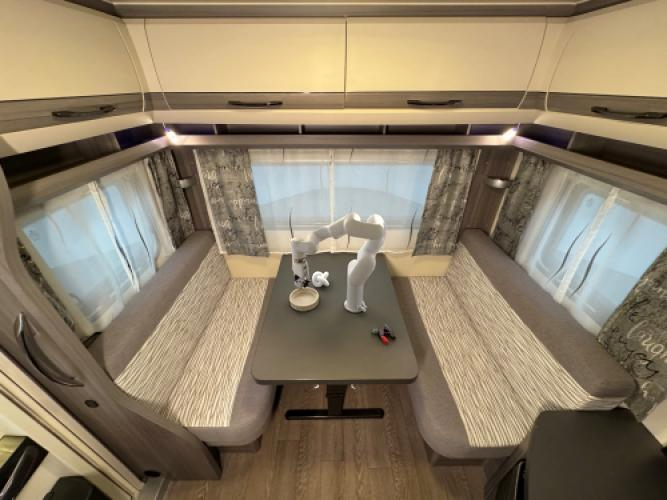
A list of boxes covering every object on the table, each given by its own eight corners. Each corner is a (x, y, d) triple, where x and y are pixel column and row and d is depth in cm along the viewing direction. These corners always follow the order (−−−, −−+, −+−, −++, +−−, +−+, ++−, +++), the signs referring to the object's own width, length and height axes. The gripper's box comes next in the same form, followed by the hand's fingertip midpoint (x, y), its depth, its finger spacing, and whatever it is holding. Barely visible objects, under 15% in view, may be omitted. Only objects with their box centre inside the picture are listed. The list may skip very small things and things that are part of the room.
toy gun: (370, 330, 141) (371, 324, 138) (392, 329, 141) (393, 323, 139) (373, 345, 132) (374, 338, 130) (396, 344, 133) (397, 337, 130)
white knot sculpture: (318, 277, 184) (318, 266, 179) (333, 281, 179) (333, 271, 174) (310, 286, 175) (309, 275, 171) (325, 291, 170) (325, 280, 166)
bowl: (324, 301, 162) (324, 295, 160) (302, 316, 151) (302, 310, 149) (306, 288, 173) (305, 283, 171) (284, 301, 162) (283, 296, 160)
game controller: (301, 289, 147) (295, 281, 147) (297, 292, 151) (290, 284, 151) (311, 281, 154) (305, 273, 154) (307, 284, 158) (301, 276, 158)
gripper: (314, 261, 141) (316, 287, 149) (295, 250, 151) (297, 275, 160) (303, 267, 136) (306, 293, 145) (284, 255, 147) (287, 280, 156)
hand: (301, 283), depth 152 cm, fingers closed on game controller, 7 cm apart
